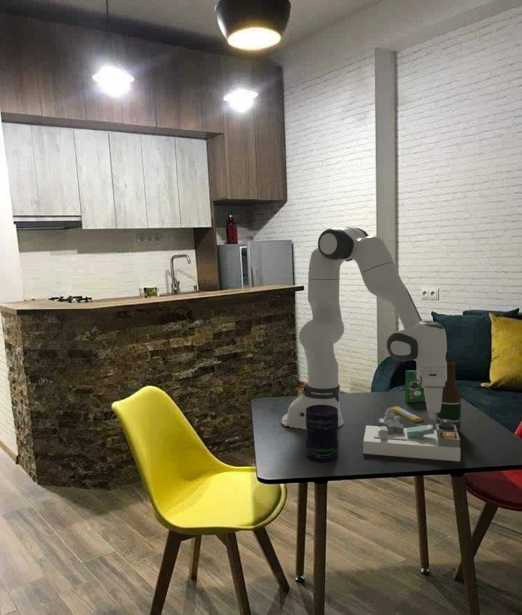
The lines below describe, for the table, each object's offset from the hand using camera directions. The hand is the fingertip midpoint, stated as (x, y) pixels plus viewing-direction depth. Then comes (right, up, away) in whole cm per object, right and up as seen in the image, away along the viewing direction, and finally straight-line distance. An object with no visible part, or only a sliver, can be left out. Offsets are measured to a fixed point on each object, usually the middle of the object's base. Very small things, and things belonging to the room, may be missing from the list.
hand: (431, 417), depth 154 cm
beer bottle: (+11, -9, +17) cm, 22 cm away
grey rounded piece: (-7, -8, +22) cm, 24 cm away
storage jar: (-34, -12, -1) cm, 36 cm away
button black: (+6, -4, +3) cm, 7 cm away
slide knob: (-15, -6, +1) cm, 16 cm away
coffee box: (+10, -5, +50) cm, 51 cm away
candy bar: (+2, -7, +34) cm, 35 cm away
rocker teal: (-3, -4, +2) cm, 6 cm away
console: (-6, -10, +3) cm, 12 cm away
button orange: (+4, -7, -4) cm, 8 cm away
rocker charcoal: (-11, -4, +7) cm, 13 cm away
